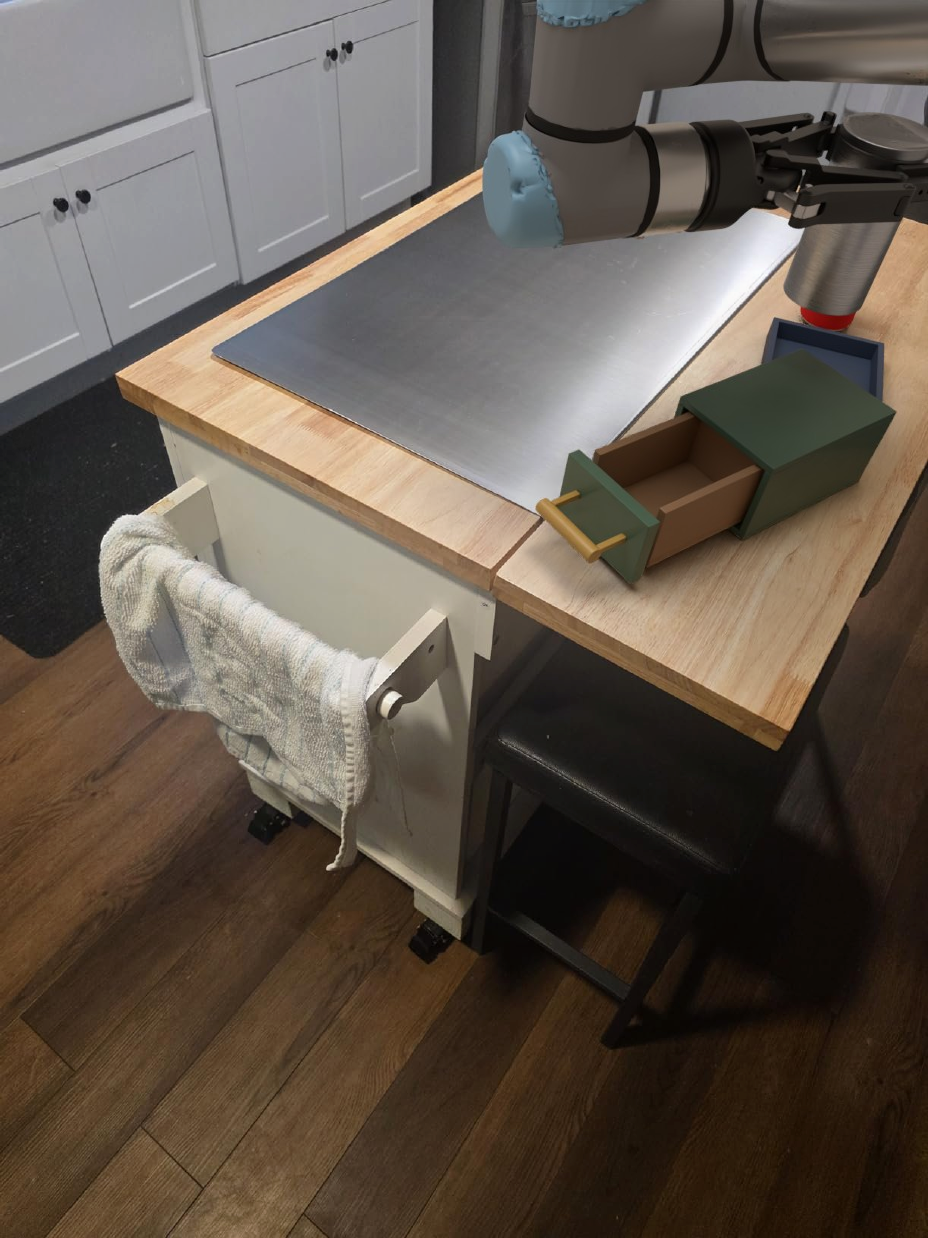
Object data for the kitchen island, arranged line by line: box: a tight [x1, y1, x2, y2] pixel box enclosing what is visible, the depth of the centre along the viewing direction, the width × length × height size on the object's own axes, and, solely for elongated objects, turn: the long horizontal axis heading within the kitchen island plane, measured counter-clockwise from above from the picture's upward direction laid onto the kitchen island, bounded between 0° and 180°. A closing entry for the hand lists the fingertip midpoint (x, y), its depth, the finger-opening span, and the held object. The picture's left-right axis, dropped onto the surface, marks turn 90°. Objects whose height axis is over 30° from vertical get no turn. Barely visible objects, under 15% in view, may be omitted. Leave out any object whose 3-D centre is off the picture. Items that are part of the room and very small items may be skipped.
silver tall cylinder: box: [782, 111, 928, 316], centre depth 74 cm, size 8×8×14 cm
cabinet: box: [673, 349, 897, 541], centre depth 82 cm, size 16×11×8 cm
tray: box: [760, 316, 885, 403], centre depth 95 cm, size 15×12×3 cm
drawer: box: [535, 412, 765, 585], centre depth 75 cm, size 20×10×7 cm, turn 124°
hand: (926, 157), depth 72 cm, fingers closed on silver tall cylinder, 7 cm apart
